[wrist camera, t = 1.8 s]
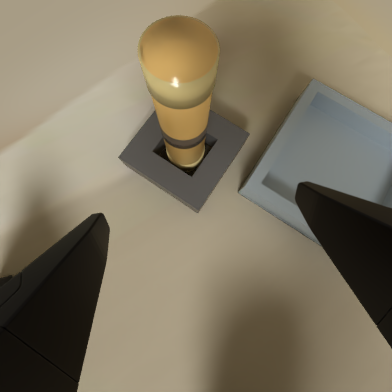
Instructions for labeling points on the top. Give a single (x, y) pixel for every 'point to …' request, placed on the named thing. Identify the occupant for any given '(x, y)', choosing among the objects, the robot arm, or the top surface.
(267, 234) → the top surface
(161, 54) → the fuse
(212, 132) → the block
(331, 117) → the parts tray
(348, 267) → the robot arm
